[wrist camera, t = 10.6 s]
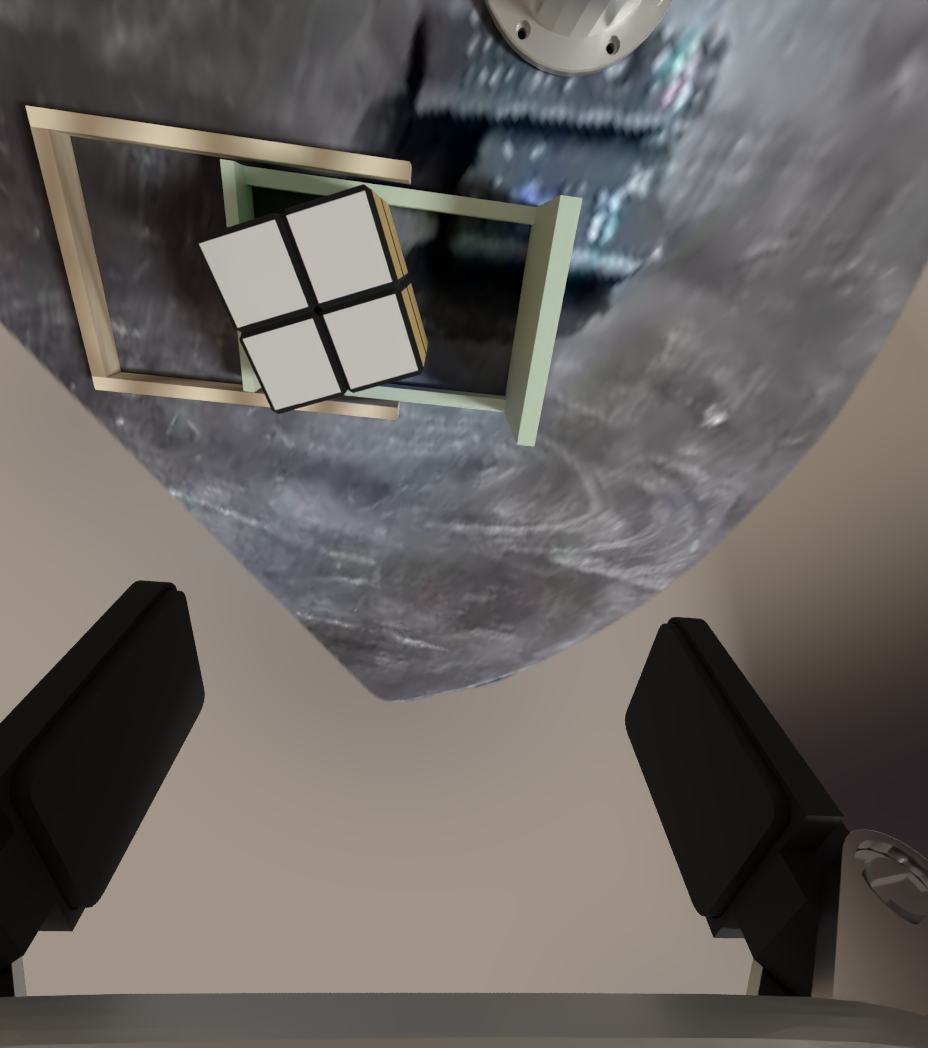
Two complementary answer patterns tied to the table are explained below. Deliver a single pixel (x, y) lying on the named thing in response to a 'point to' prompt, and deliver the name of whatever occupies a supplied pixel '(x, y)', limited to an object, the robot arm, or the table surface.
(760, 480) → the table surface
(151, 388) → the frame
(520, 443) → the green frame
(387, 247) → the puzzle cube
